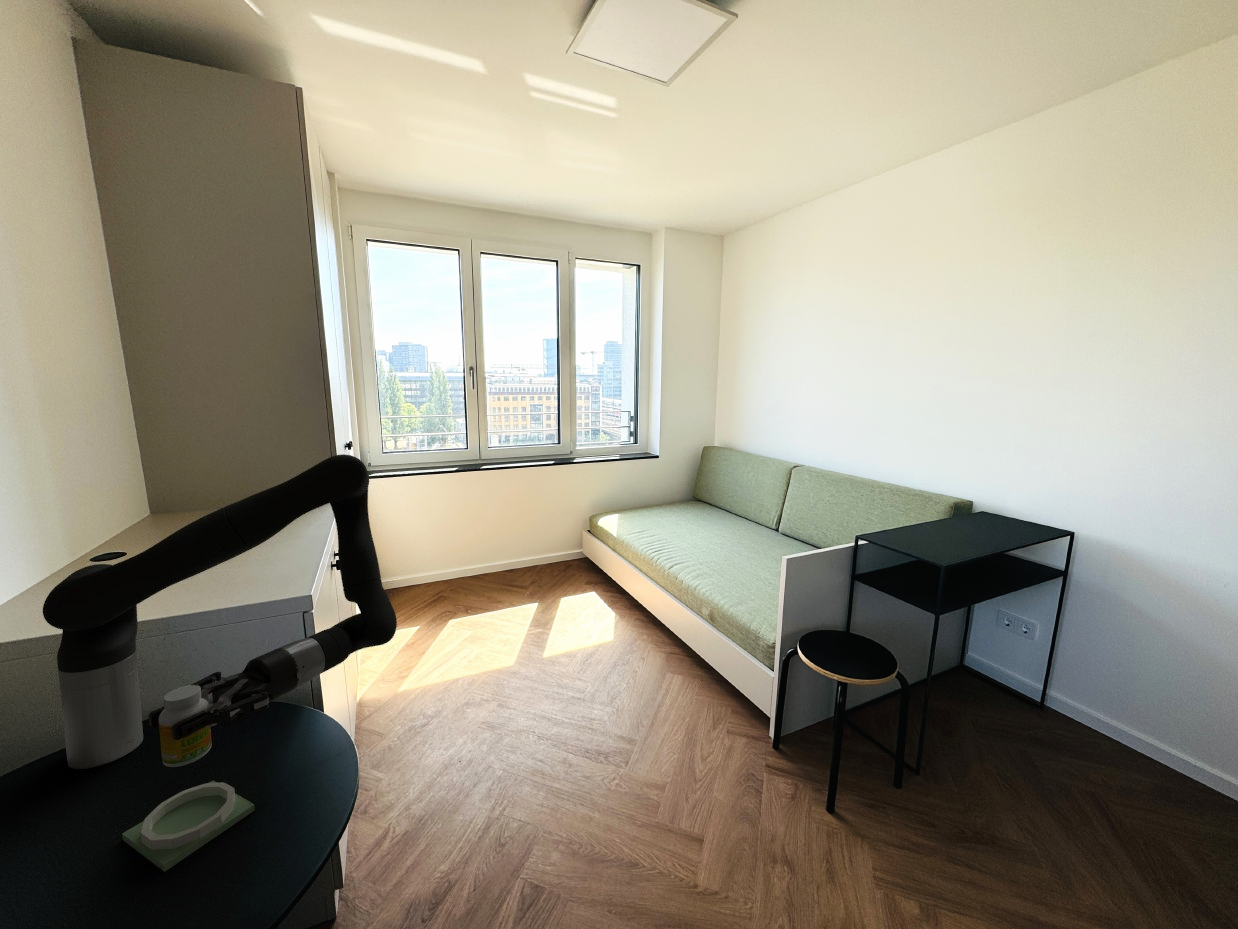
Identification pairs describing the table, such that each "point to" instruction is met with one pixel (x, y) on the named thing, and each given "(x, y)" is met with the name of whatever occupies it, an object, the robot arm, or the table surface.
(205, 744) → the supplement bottle
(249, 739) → the table surface
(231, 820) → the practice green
